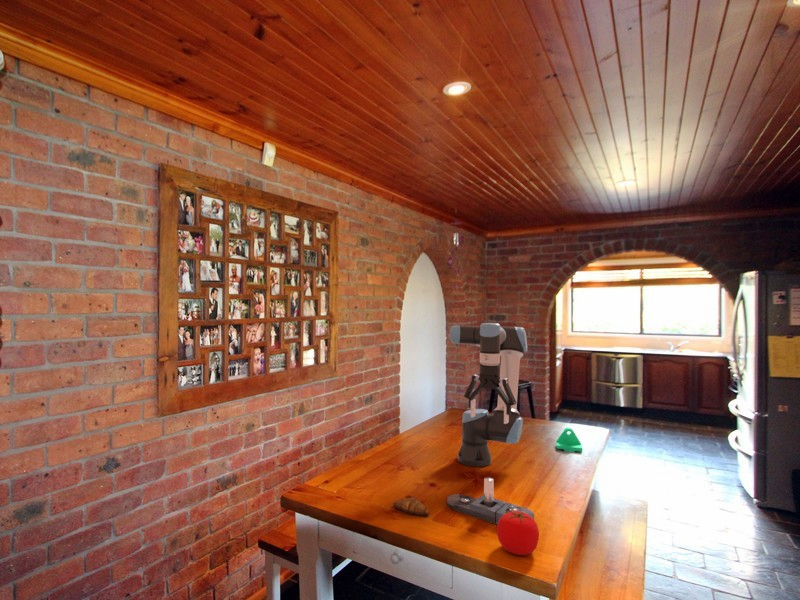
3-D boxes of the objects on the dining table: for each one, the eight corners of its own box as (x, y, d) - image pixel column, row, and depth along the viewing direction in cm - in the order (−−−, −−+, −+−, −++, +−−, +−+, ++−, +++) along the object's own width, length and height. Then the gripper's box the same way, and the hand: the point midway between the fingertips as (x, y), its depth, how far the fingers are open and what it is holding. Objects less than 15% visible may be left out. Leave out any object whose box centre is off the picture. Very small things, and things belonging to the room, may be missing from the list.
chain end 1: (442, 506, 151) (442, 498, 151) (455, 497, 158) (455, 490, 158) (495, 524, 139) (495, 516, 139) (506, 514, 146) (506, 506, 146)
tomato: (521, 566, 116) (521, 527, 116) (488, 546, 126) (489, 510, 126) (547, 552, 123) (548, 516, 123) (515, 535, 133) (515, 500, 133)
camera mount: (556, 450, 215) (556, 430, 215) (556, 446, 222) (556, 426, 222) (582, 453, 211) (582, 432, 211) (581, 448, 219) (581, 428, 219)
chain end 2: (470, 515, 144) (470, 502, 144) (482, 506, 151) (482, 493, 152) (528, 535, 132) (528, 520, 132) (538, 524, 139) (538, 510, 140)
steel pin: (481, 515, 145) (482, 479, 145) (486, 511, 147) (486, 476, 148) (490, 518, 143) (491, 482, 143) (494, 514, 145) (495, 479, 146)
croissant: (433, 513, 146) (433, 498, 147) (424, 521, 141) (424, 505, 141) (398, 503, 153) (399, 489, 153) (388, 511, 147) (389, 496, 147)
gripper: (455, 361, 167) (455, 416, 167) (517, 368, 152) (517, 428, 152) (465, 359, 173) (464, 412, 173) (525, 366, 158) (524, 423, 158)
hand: (489, 419), depth 162 cm, fingers open, 13 cm apart
